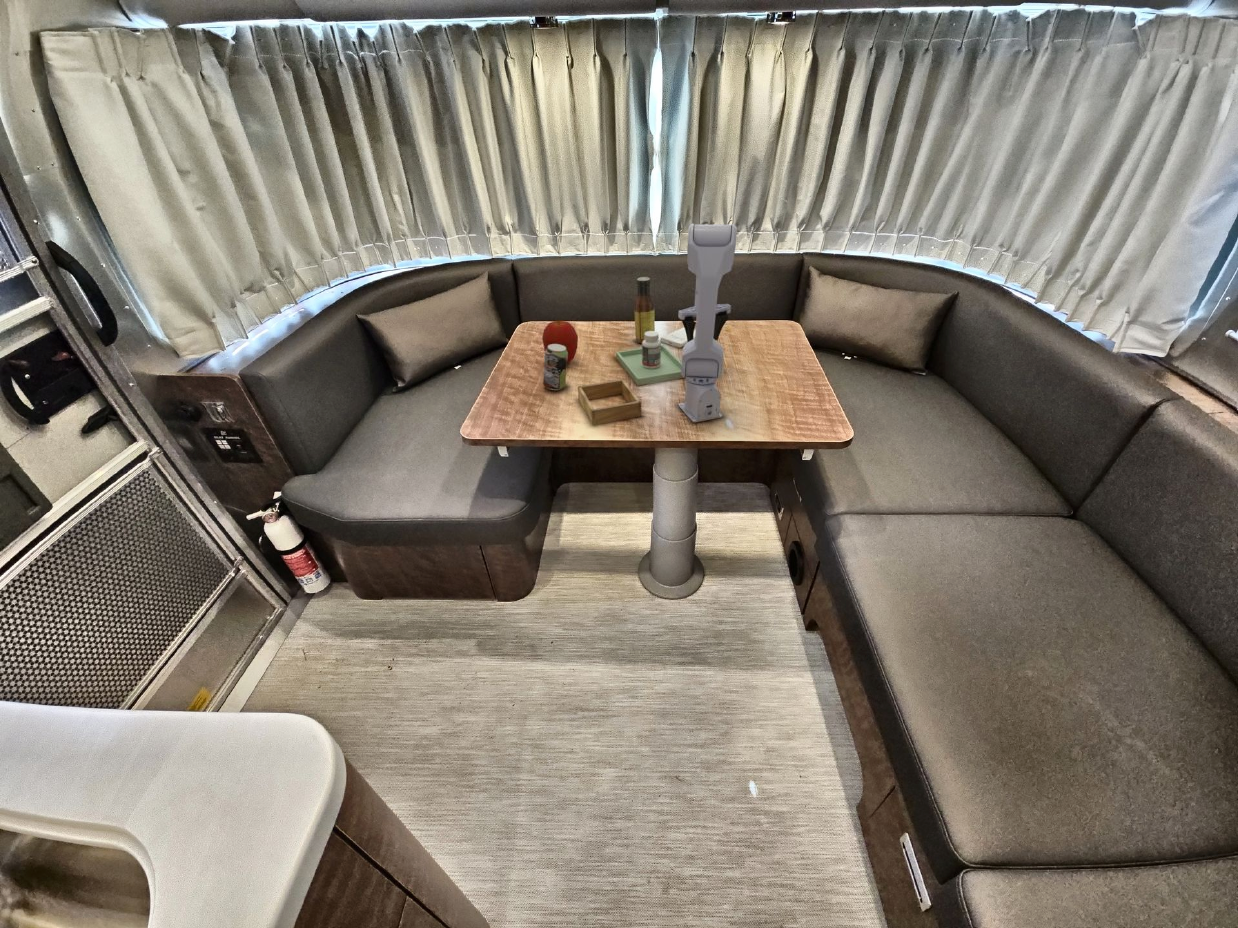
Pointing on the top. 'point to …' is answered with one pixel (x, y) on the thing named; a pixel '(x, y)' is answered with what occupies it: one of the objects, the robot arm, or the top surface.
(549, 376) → the beverage can
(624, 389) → the open wooden box
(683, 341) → the hard drive
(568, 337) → the apple
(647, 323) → the sauce bottle
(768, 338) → the top surface
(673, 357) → the tray
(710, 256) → the robot arm
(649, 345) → the pill bottle
